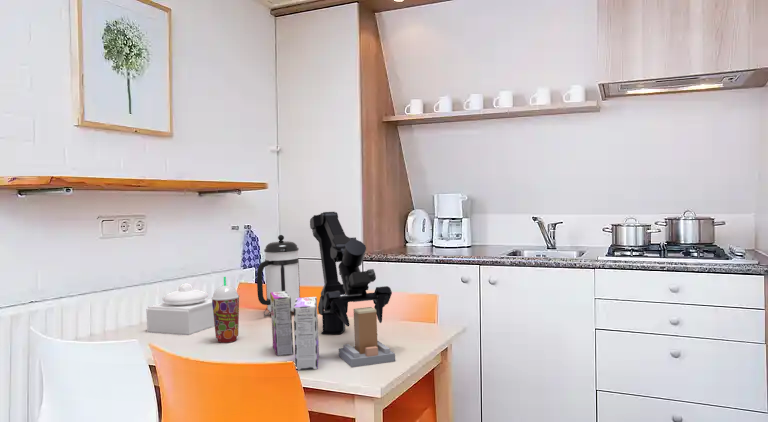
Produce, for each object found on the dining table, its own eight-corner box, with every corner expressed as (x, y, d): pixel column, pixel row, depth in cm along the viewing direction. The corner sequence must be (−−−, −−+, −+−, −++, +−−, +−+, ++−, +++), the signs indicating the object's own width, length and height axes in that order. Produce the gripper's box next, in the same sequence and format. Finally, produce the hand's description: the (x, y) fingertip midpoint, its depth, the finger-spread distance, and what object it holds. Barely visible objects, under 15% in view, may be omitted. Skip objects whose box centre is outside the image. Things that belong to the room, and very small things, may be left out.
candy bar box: (271, 347, 175) (269, 292, 174) (288, 345, 176) (286, 290, 176) (275, 356, 164) (273, 297, 164) (293, 354, 166) (291, 296, 165)
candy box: (298, 356, 164) (295, 297, 164) (319, 355, 165) (317, 296, 164) (294, 370, 150) (292, 306, 150) (318, 369, 151) (315, 305, 150)
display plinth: (339, 355, 163) (338, 341, 163) (380, 350, 167) (379, 336, 167) (351, 367, 152) (351, 351, 152) (395, 361, 156) (394, 346, 156)
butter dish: (147, 332, 201) (145, 286, 200) (184, 321, 217) (182, 278, 217) (188, 335, 194) (186, 287, 194) (223, 324, 211) (221, 279, 210)
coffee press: (262, 311, 230) (259, 234, 230) (304, 309, 232) (301, 232, 231) (258, 320, 213) (255, 237, 212) (303, 318, 215) (300, 235, 214)
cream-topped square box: (355, 350, 161) (353, 308, 160) (372, 347, 162) (371, 307, 162) (359, 354, 156) (358, 311, 156) (377, 351, 158) (376, 309, 158)
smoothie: (216, 345, 179) (213, 279, 179) (210, 339, 187) (208, 276, 186) (244, 341, 183) (241, 277, 183) (237, 336, 191) (234, 274, 190)
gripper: (324, 262, 161) (336, 310, 151) (388, 257, 167) (404, 303, 157) (318, 287, 168) (329, 334, 158) (380, 281, 175) (394, 326, 165)
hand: (364, 323), depth 159 cm, fingers open, 9 cm apart
